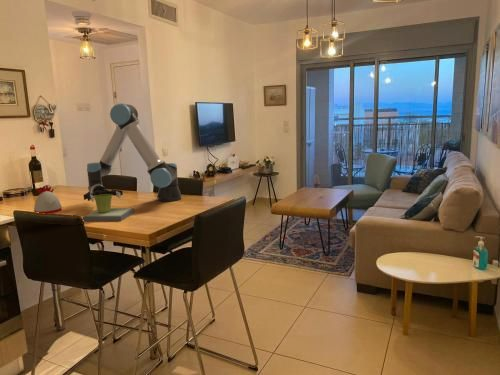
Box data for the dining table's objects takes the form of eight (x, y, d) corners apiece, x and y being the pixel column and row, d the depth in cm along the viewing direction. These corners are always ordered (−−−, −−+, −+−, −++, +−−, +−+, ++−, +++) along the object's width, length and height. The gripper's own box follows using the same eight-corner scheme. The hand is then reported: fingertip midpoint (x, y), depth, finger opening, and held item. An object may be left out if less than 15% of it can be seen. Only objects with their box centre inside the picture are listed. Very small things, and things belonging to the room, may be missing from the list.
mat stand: (134, 212, 204) (134, 207, 204) (121, 220, 186) (120, 215, 186) (99, 212, 206) (98, 208, 205) (83, 221, 188) (82, 216, 187)
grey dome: (31, 211, 212) (28, 186, 209) (57, 207, 221) (54, 182, 219) (38, 215, 202) (35, 188, 199) (65, 211, 211) (62, 185, 209)
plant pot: (112, 212, 192) (111, 196, 191) (93, 213, 189) (92, 197, 188) (114, 209, 201) (113, 193, 200) (95, 210, 198) (94, 194, 197)
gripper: (121, 195, 221) (130, 201, 203) (76, 200, 208) (81, 207, 191) (120, 182, 220) (129, 187, 202) (74, 187, 207) (80, 193, 189)
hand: (106, 197), depth 196 cm, fingers open, 13 cm apart
